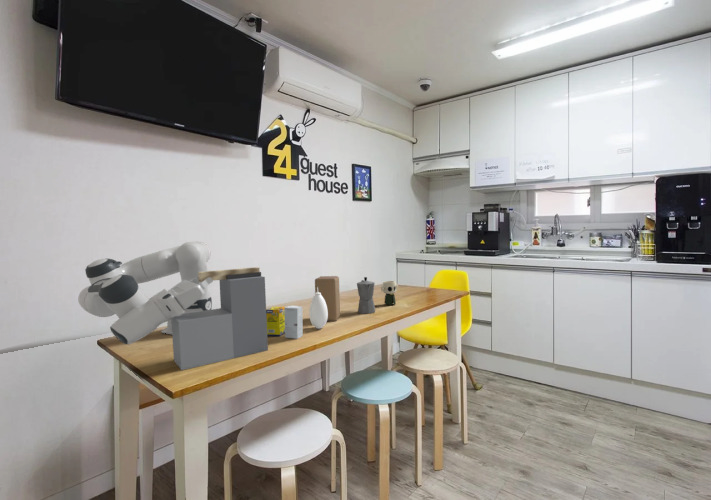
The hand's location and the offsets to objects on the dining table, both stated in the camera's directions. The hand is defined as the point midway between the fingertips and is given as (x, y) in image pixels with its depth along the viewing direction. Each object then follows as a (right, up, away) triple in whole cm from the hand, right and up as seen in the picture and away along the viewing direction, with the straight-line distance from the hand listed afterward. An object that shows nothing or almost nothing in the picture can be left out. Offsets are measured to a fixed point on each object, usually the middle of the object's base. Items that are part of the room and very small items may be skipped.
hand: (207, 277), depth 119 cm
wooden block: (+36, -24, +52) cm, 68 cm away
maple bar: (+6, -1, +5) cm, 8 cm away
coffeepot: (+55, -23, +65) cm, 88 cm away
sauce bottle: (+34, -25, +35) cm, 54 cm away
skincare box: (+25, -25, +23) cm, 43 cm away
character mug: (+69, -22, +81) cm, 108 cm away
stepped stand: (+4, -27, +4) cm, 27 cm away
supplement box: (+17, -26, +27) cm, 41 cm away
